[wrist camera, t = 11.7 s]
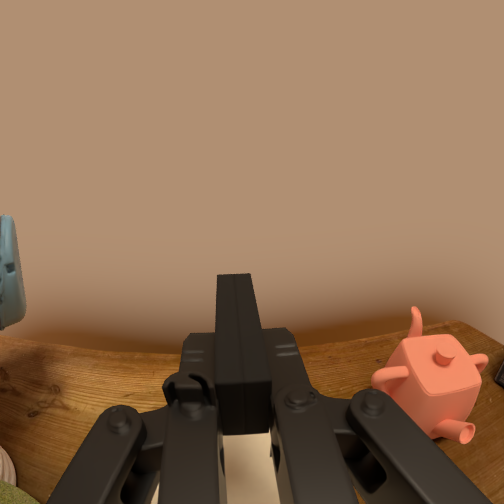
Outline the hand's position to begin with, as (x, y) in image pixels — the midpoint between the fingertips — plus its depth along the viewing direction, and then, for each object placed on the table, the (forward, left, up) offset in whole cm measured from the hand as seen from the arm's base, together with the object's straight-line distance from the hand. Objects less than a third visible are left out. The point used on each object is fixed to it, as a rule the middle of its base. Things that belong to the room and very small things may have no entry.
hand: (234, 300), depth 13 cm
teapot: (+6, +18, -19) cm, 27 cm away
